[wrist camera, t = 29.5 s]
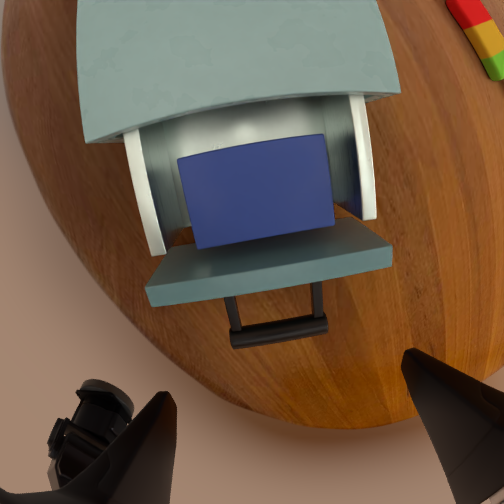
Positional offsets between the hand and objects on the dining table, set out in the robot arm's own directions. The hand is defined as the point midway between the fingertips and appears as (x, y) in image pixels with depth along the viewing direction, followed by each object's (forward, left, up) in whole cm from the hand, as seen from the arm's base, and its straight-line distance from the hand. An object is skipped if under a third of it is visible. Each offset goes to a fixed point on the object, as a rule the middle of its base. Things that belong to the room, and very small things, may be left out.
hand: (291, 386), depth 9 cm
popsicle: (+26, +17, -12) cm, 33 cm away
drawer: (0, +6, -11) cm, 13 cm away
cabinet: (0, +18, -12) cm, 21 cm away
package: (0, +6, -10) cm, 11 cm away
